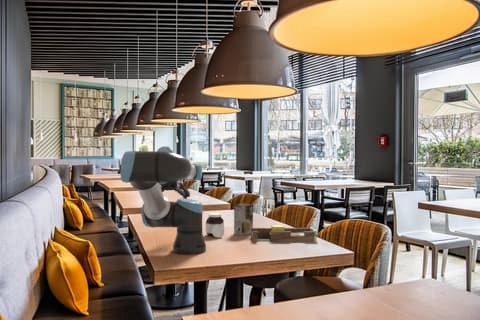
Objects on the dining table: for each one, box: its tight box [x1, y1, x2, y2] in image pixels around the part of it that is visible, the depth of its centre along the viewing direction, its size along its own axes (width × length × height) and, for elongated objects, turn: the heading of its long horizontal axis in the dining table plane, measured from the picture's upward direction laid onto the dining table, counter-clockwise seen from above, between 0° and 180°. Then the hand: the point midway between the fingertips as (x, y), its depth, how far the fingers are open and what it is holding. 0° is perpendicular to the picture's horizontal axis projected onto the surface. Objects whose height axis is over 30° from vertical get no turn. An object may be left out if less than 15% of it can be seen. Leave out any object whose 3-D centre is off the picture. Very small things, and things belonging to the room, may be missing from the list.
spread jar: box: [205, 212, 225, 239], centre depth 219 cm, size 12×11×12 cm
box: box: [250, 226, 318, 243], centre depth 212 cm, size 10×33×6 cm, turn 93°
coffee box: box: [233, 203, 254, 236], centre depth 226 cm, size 9×6×16 cm
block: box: [270, 224, 285, 231], centre depth 212 cm, size 5×6×4 cm
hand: (171, 206), depth 216 cm, fingers open, 13 cm apart
